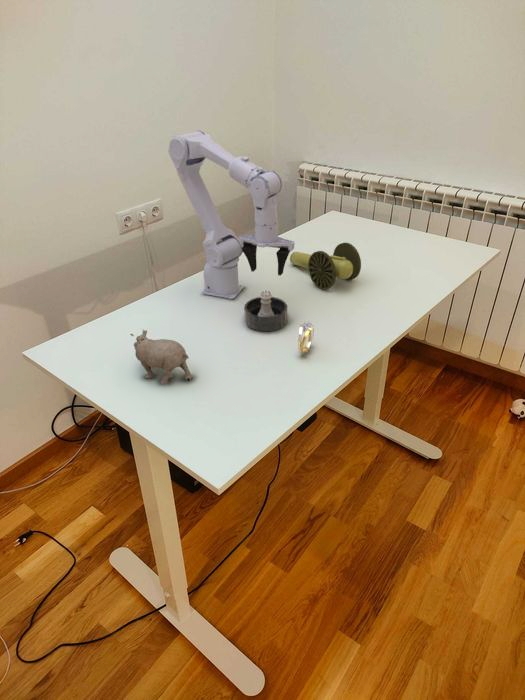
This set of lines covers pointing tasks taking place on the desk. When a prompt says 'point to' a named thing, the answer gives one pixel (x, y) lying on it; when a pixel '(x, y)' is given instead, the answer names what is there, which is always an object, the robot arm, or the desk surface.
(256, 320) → the bowl
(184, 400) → the desk surface
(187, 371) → the brown animal figurine
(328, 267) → the cannon
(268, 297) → the rook chess piece
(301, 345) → the ring
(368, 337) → the desk surface
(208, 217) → the robot arm
